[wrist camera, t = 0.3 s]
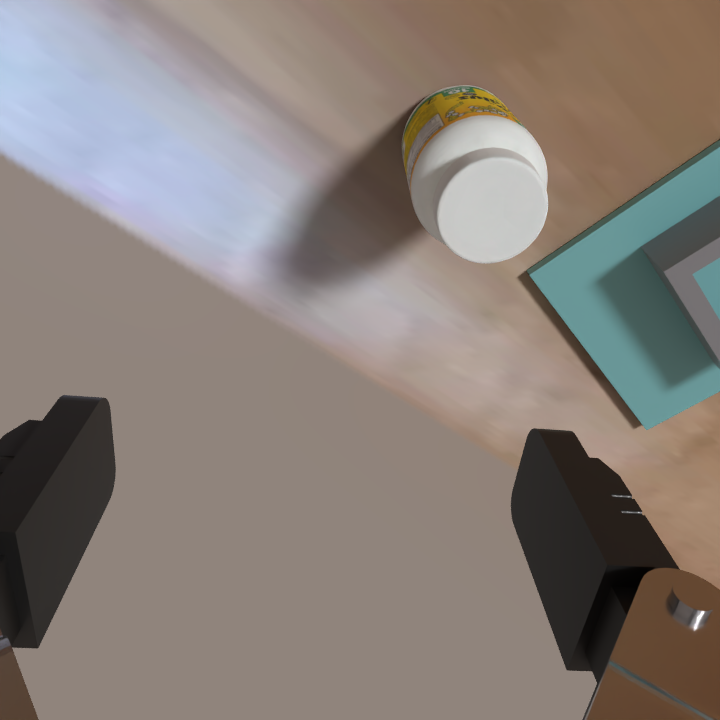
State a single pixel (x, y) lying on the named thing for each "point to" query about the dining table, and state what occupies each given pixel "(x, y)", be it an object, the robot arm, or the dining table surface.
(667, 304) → the bottle stand
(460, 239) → the supplement bottle
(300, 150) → the dining table surface
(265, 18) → the dining table surface
